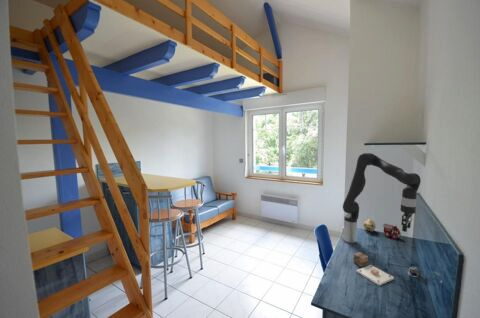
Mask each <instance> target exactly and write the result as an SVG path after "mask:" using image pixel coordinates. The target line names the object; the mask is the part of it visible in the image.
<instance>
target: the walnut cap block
mask: <svg viewBox="0 0 480 318" xmlns="http://www.w3.org/2000/svg"><path fill="white" fill-rule="evenodd" d="M353 263H354V264H355V263H356V265H357V266H359V267H361V268H364V267H366V266H369V265H368V264H369V255H366V254H365V253H362V252H360V251H359V252H356V253H353Z"/></svg>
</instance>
